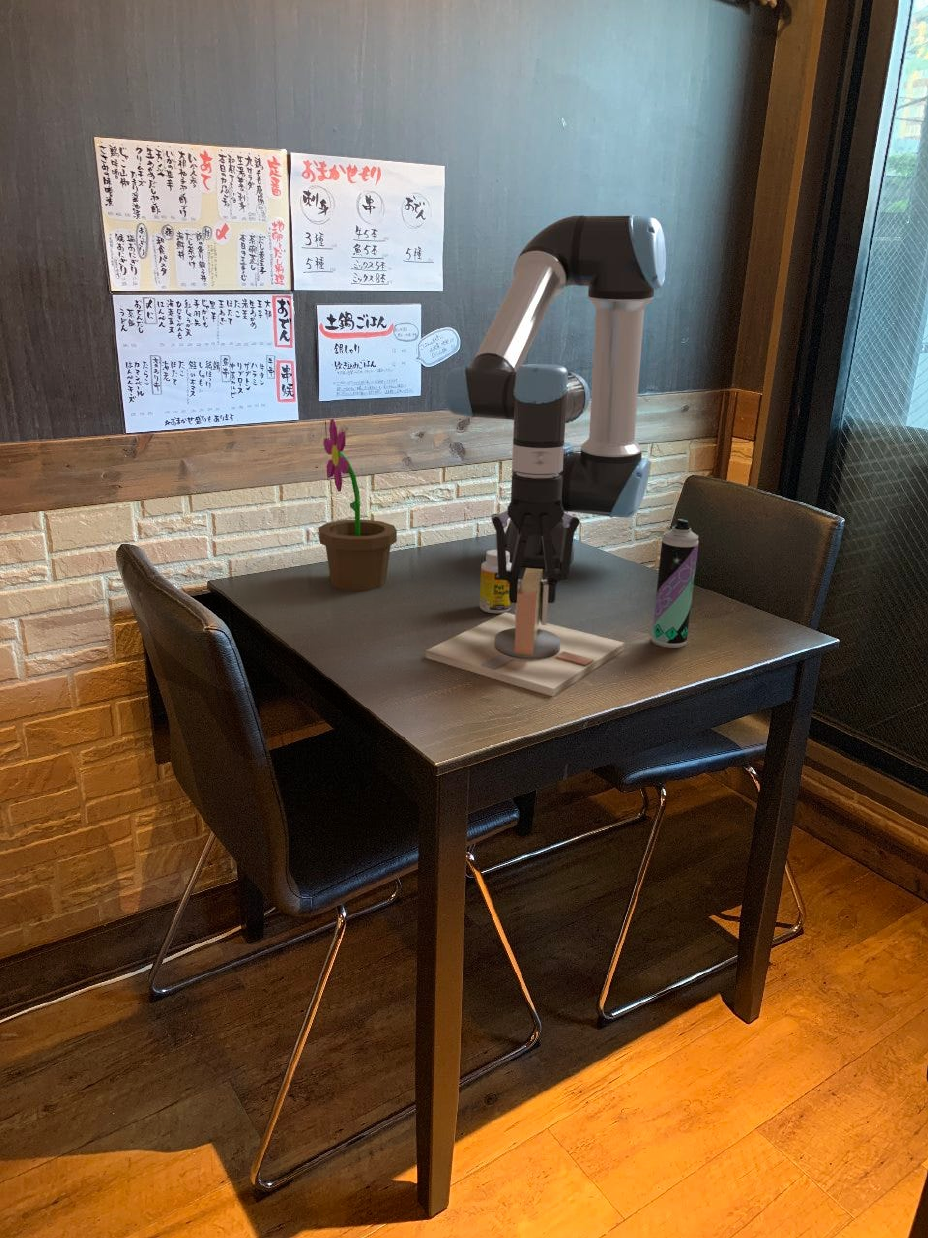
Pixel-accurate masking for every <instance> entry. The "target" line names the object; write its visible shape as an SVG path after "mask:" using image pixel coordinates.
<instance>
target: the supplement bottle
mask: <svg viewBox="0 0 928 1238" xmlns="http://www.w3.org/2000/svg"><path fill="white" fill-rule="evenodd" d="M509 560H510V553H509V552H508V551H506V570H507V571H510V570H511V565H512V563H510V562H509ZM479 587H480V588H479V589H480V591H479V608H480V609H481V610H482V611H483V612H485V613H489V614H499V615H500V614H503V613H505V612H507V613H509V611H510V610H511V609H512V604H513V603H511V602H510V600H509V582H508V581H506V580H501V579H500V578H499V575H498V563H497V549H490V550H487V551H486V555H485V561H483V562H482V563H481V567H480V585H479Z"/></svg>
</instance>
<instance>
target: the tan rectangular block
mask: <svg viewBox="0 0 928 1238" xmlns="http://www.w3.org/2000/svg"><path fill="white" fill-rule="evenodd" d="M543 571H544V569H543V568H535V567H525V570H524V574H523V576H522V578H521V580H522V582H521V586H520V589H519V590H518V594H517V612H516V631H515V651H514V653H519V654H531V655H533V652H534V646H535V641H536V637H537V633H538V628H539V624H540V621H541V620H540V611H541V591H542V580H543V574H544V573H543Z"/></svg>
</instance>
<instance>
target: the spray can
mask: <svg viewBox="0 0 928 1238" xmlns="http://www.w3.org/2000/svg"><path fill="white" fill-rule="evenodd" d="M671 527H672V528H671V529H669V530H668V531H665V532H663V535H662V536H663V537H662V538H661V548H660V558H659V566H658V577H657V585H656V596H655V605H654V613H653V624H652V634H651V635H652V636H651V641H652V643H654V644H655V645H656V646H660V647H662V648H669V649H670V648H671V649H673V648H675V649H677V648H678V649H679V648H682V647H683V648H684V646H687V642H688V635H689V633H688V632H689V626H690V625H689V624H690V618H691V617H690V616H691V606H692V600H693V592H694V584H695V574H696V567H697V558H698V550H699V549H698V548H699V535H698V534H696V533H695V532H693V531H692V528H691V527H690V525H689V521H688V520H687V519H685V518H677V520H676V524H675V525H674V526H671Z"/></svg>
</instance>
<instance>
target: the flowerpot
mask: <svg viewBox="0 0 928 1238" xmlns="http://www.w3.org/2000/svg"><path fill="white" fill-rule="evenodd" d="M328 429H329V430H328V431H329V438H328V437H327V438H323V440H322V441H323V448H324V451H325V452H326V454H327V455H331V459H329V460H328V461H327V464H326V477H327V478H328V479H329V478H332V477H334V478H333V479H334V485H335V487H336V491H337V492H338V493H339V492H340V493H341V491H342V488H343V487H342V486H343V475H342V474H344V475H345V474H348V475H349V476H350V480H351V481H350V482H351V486H352V492H353V496H354V501H352V502H350V503H349V507H350V509H352V510H353V511H354V519H342V520H336V521H330V522H325V523H324V524H322V525H321V526H319V527H318V539H319V540H318V541H319V544H320V545H322V546H325V552H326V558H327V564H328V565H327V566H328V570H329V571H328V572H329V579H330V582H331V583H330V584H331V586H332V587H334V588H337V589H338V590H341V591H342V590H343V591H351V592H363V591H366V592H367V591H372V590H377V589H381V588H382V587H383V586H384V585H386V583H387V577H388V567H389V561H390V560H389V559H390V554H391V552H390V551H391V546H392V545H393V544H395V543H397V542H398V541H397V539H398V534H397V533H398V530H397V529H396V528H397V527H395V525H393V524H391V523H387V522H384V521H380V520H371V519H361V508H360V507H361V500H360V499H361V497H360V490H359V489H360V488H359V487H358V486H359V485H358V481H357V477H356V474H355V471H354V470H353V468H352V466H351V463H350V462H349V460H348V457H346V456H345V455H344V453H343V452H344V449H345V447H346V433H345V432H344V431H342V432H340V433H338V428H337V424H336V423H335V420H334V418H331V419H330V421H329V428H328Z"/></svg>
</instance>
